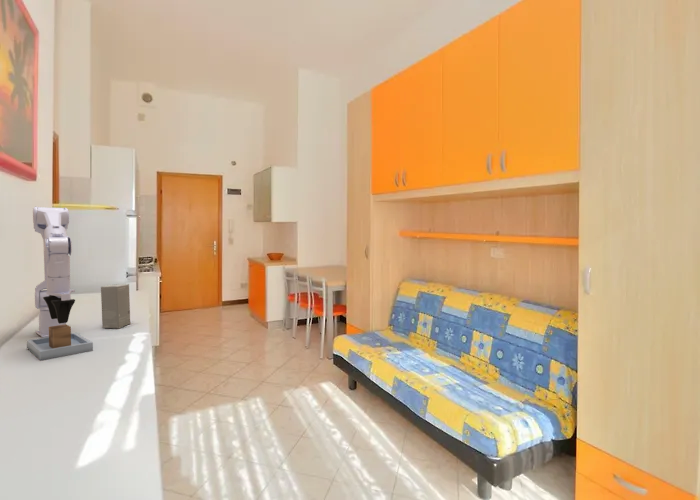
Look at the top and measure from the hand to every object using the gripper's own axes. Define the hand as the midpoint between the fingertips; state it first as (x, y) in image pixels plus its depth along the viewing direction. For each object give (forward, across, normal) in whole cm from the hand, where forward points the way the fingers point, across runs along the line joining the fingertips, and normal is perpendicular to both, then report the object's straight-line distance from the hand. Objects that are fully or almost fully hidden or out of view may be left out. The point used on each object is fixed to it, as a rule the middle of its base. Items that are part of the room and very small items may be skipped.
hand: (59, 320), depth 123 cm
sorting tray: (+9, 0, 0) cm, 9 cm away
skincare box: (+9, +19, -22) cm, 31 cm away
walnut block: (+8, 0, 0) cm, 8 cm away
